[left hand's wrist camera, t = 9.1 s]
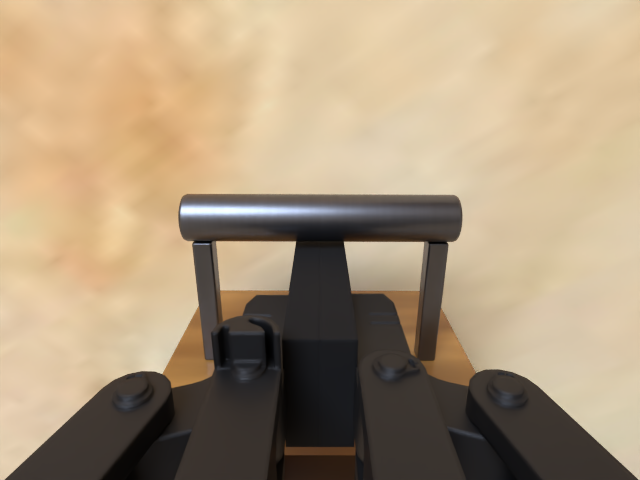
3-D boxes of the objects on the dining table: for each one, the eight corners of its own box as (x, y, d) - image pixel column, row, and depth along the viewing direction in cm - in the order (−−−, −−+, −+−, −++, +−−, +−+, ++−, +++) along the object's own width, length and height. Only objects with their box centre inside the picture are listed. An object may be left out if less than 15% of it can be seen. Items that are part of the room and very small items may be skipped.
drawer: (193, 164, 17) (98, 228, 10) (446, 165, 17) (542, 230, 10) (229, 522, 24) (190, 715, 17) (407, 522, 24) (445, 715, 17)
